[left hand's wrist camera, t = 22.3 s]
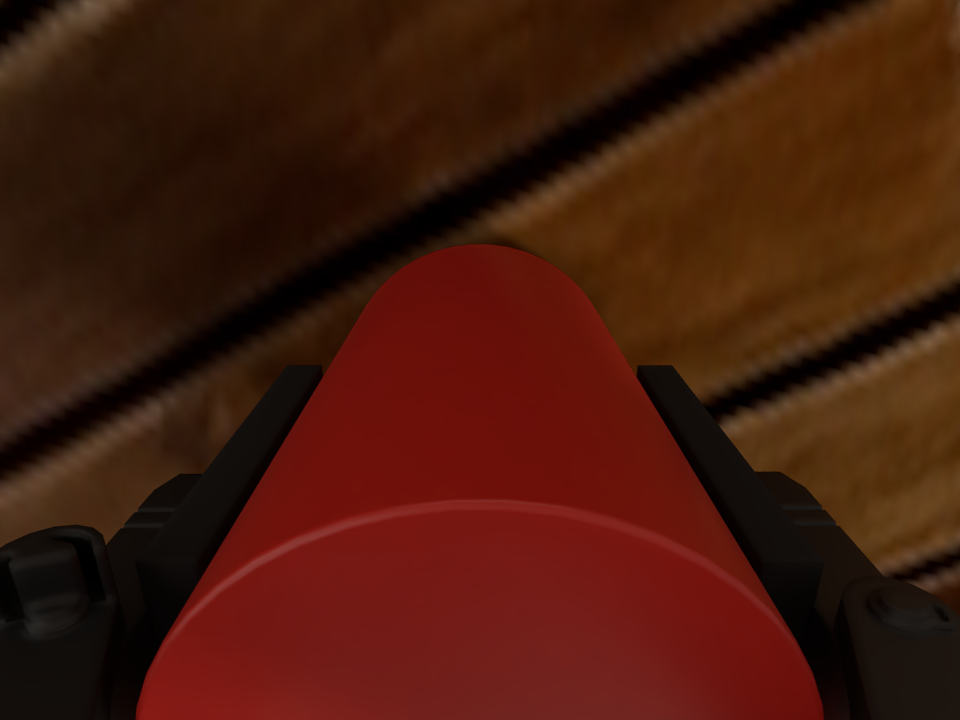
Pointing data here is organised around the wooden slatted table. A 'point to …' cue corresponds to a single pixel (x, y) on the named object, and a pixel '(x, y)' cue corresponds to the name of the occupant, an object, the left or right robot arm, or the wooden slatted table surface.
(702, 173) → the wooden slatted table surface
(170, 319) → the wooden slatted table surface
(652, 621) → the canister
